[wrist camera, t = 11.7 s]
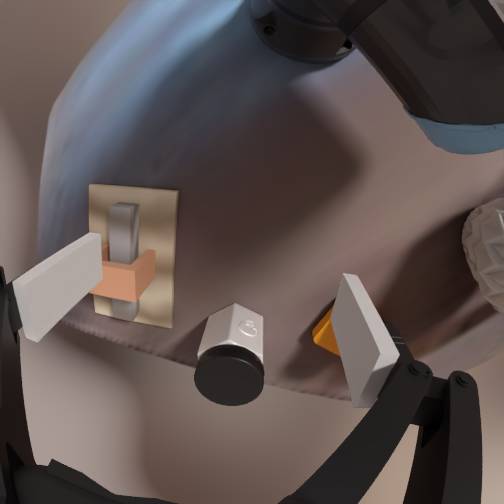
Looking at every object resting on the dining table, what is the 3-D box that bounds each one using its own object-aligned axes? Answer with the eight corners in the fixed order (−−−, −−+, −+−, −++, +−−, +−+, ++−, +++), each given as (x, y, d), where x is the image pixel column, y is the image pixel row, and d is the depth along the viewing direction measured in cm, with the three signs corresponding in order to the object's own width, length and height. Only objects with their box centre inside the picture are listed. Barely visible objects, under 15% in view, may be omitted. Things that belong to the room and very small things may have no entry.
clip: (104, 242, 40) (76, 261, 33) (155, 250, 40) (134, 271, 33) (105, 269, 41) (79, 290, 34) (155, 277, 41) (135, 302, 34)
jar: (277, 321, 44) (280, 376, 33) (249, 359, 46) (246, 415, 35) (221, 293, 43) (208, 343, 32) (197, 334, 45) (180, 388, 34)
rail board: (92, 183, 38) (77, 187, 35) (179, 190, 38) (170, 195, 35) (97, 309, 45) (86, 322, 41) (173, 324, 45) (166, 339, 41)
